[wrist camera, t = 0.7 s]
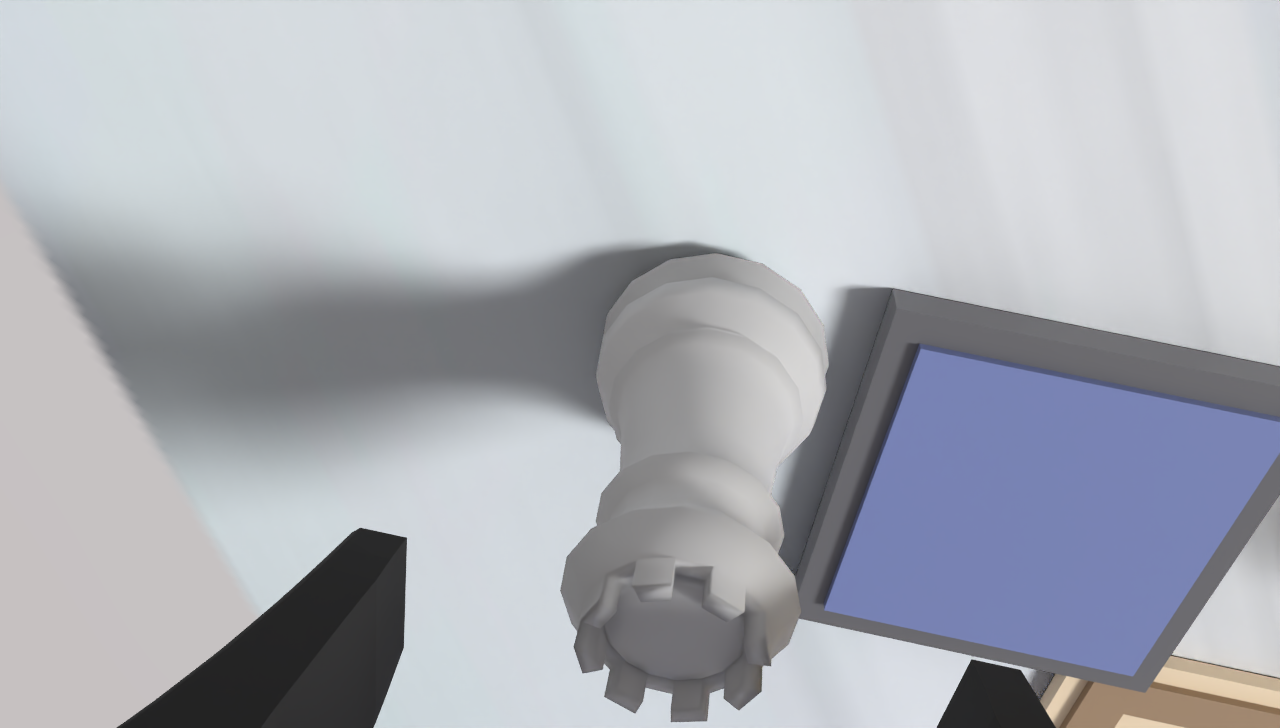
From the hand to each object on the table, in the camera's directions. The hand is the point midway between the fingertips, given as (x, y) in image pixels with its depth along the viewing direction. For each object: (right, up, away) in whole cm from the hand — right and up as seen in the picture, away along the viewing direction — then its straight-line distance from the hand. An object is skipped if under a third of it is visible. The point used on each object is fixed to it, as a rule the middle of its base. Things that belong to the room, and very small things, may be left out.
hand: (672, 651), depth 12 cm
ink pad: (+8, +1, +8) cm, 11 cm away
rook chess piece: (+1, +4, +7) cm, 8 cm away
